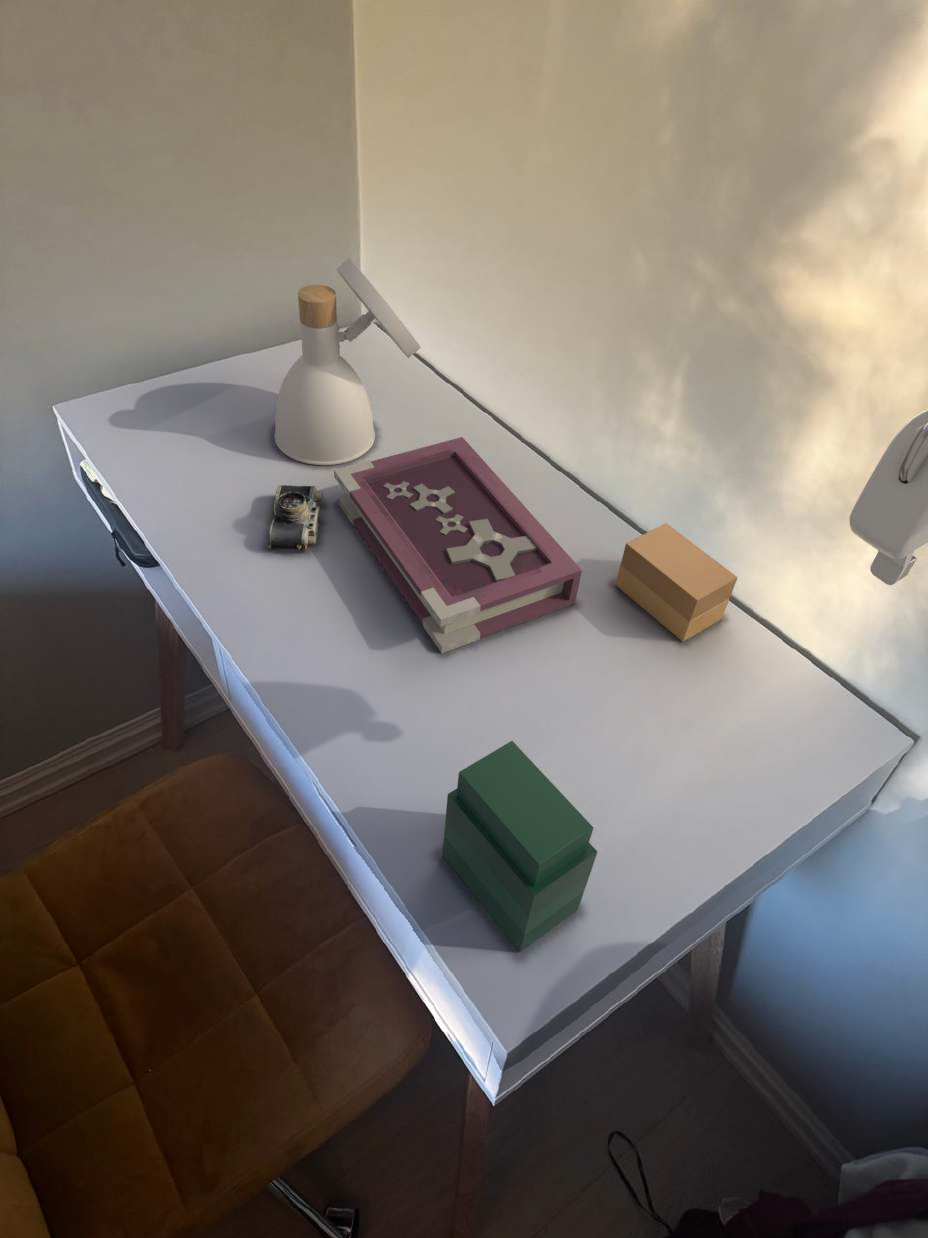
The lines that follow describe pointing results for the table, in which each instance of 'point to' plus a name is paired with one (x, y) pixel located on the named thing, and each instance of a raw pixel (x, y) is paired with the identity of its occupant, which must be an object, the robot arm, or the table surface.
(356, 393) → the light fixture
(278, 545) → the camera
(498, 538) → the book
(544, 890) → the green pile
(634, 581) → the tan pile
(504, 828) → the dark green cuboid
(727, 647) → the table surface
